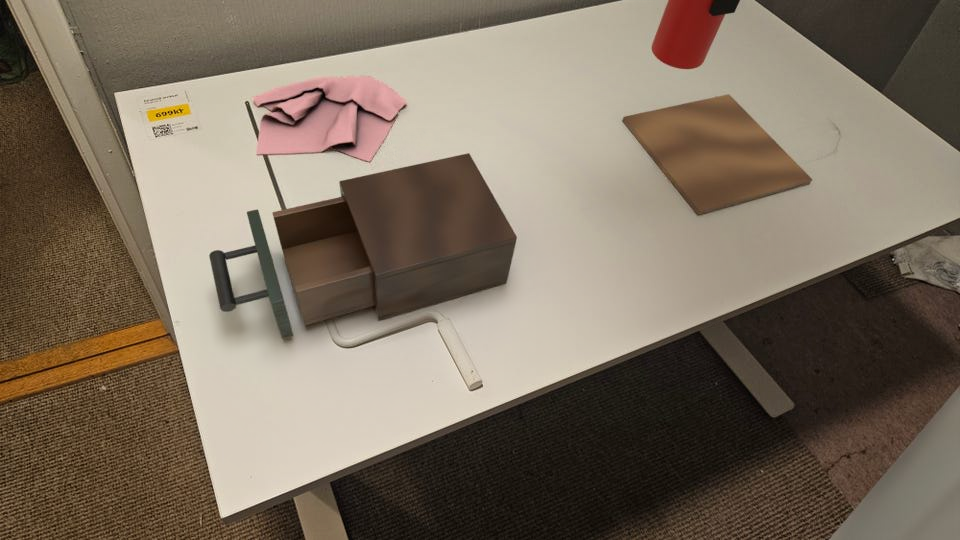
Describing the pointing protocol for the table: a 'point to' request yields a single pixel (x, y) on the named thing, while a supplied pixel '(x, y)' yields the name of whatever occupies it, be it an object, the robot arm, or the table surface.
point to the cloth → (328, 116)
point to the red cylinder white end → (685, 33)
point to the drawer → (306, 264)
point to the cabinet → (429, 233)
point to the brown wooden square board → (715, 153)
